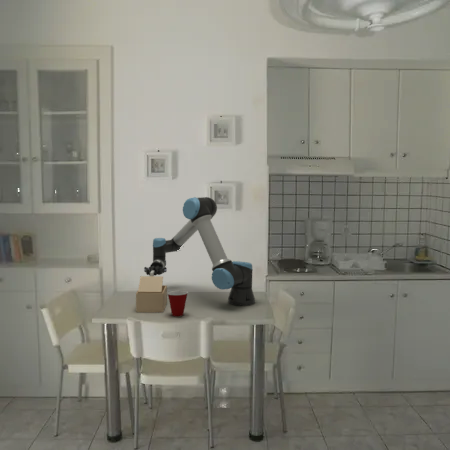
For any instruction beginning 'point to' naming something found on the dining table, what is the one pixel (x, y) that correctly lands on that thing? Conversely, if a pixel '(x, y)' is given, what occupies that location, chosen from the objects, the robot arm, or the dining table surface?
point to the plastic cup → (177, 302)
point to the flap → (150, 284)
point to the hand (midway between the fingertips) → (151, 275)
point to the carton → (151, 301)
